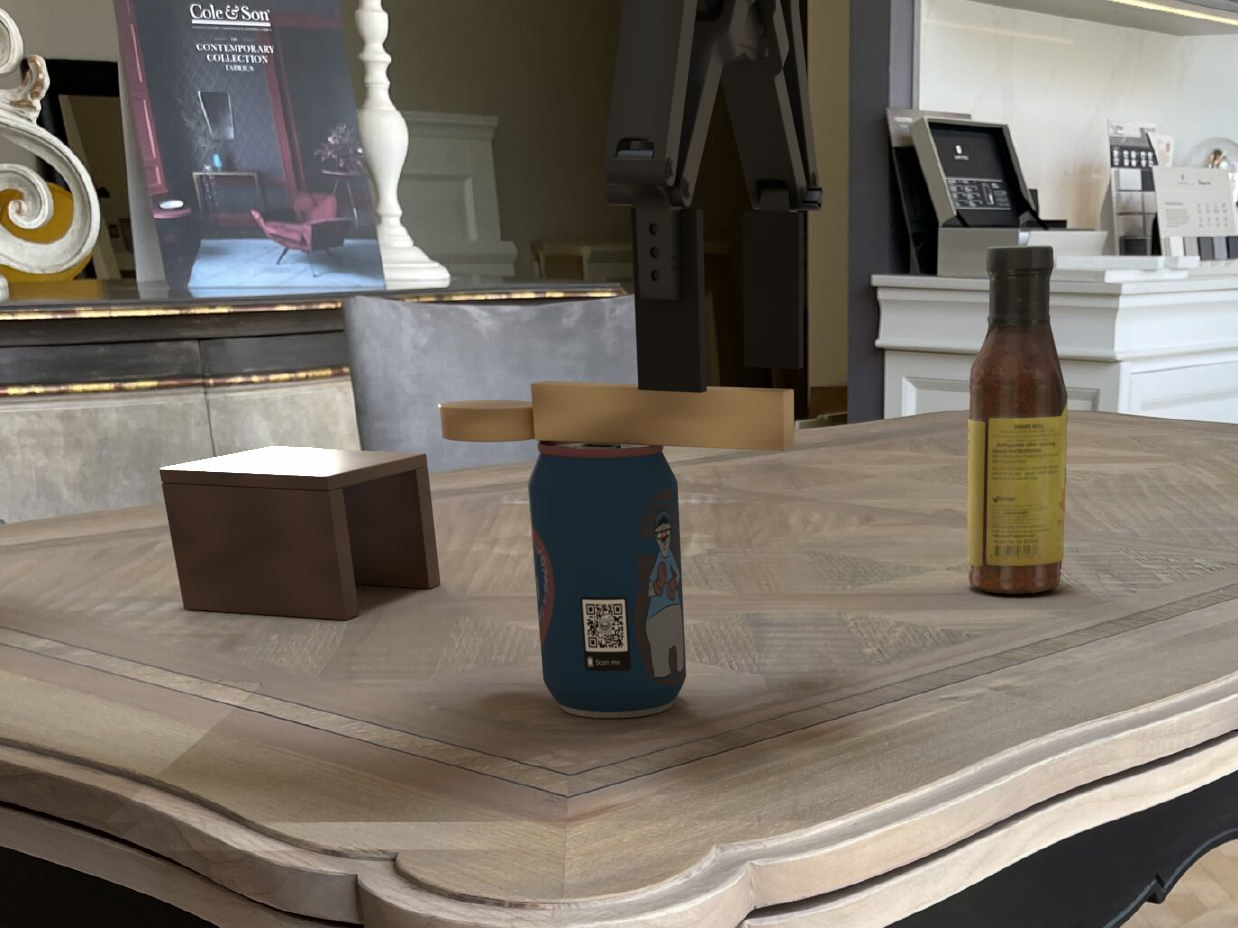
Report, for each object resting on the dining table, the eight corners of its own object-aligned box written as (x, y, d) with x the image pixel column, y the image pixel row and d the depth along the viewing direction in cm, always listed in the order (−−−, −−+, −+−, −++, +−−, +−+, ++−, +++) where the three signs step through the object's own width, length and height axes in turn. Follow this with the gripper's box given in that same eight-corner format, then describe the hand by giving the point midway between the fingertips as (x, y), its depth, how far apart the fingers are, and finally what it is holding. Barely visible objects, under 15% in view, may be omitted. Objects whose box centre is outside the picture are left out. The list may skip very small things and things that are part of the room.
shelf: (183, 609, 103) (158, 468, 99) (291, 575, 113) (272, 446, 109) (345, 620, 100) (326, 476, 97) (441, 584, 111) (426, 452, 107)
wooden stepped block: (423, 440, 77) (417, 382, 76) (469, 430, 81) (464, 375, 80) (773, 454, 74) (772, 394, 73) (804, 443, 78) (803, 386, 76)
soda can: (554, 687, 86) (534, 433, 81) (690, 687, 87) (680, 433, 81) (536, 722, 80) (513, 449, 75) (683, 721, 81) (671, 450, 75)
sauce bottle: (1080, 589, 111) (1103, 245, 101) (1017, 601, 107) (1035, 245, 98) (1005, 575, 115) (1020, 244, 106) (942, 587, 111) (951, 244, 102)
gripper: (697, -326, 53) (712, 407, 64) (891, -169, 74) (879, 362, 85) (478, -315, 55) (528, 398, 65) (729, -164, 76) (737, 356, 86)
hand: (727, 379), depth 75 cm, fingers open, 13 cm apart
